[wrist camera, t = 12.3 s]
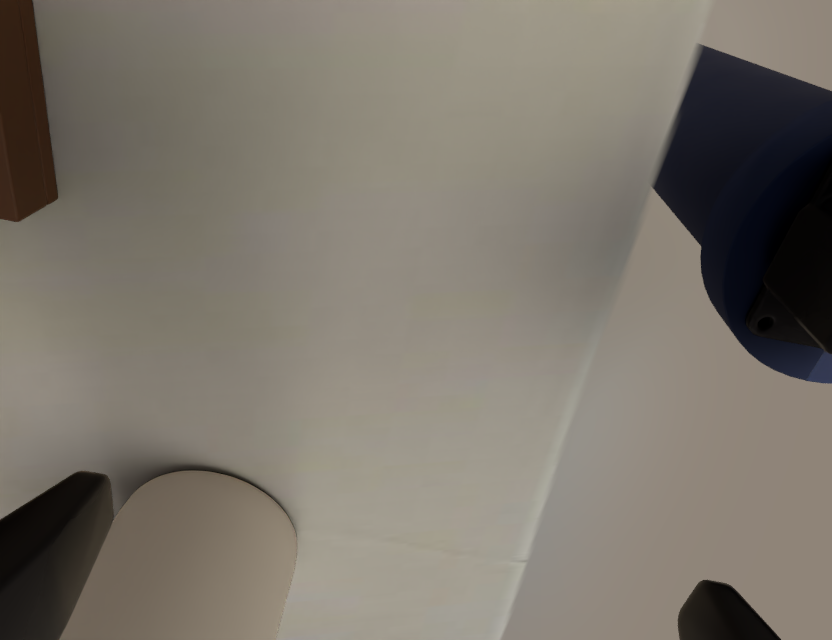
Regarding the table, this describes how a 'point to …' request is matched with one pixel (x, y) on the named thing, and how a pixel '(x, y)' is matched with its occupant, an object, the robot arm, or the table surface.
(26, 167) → the tray
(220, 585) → the pill bottle
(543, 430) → the table surface
